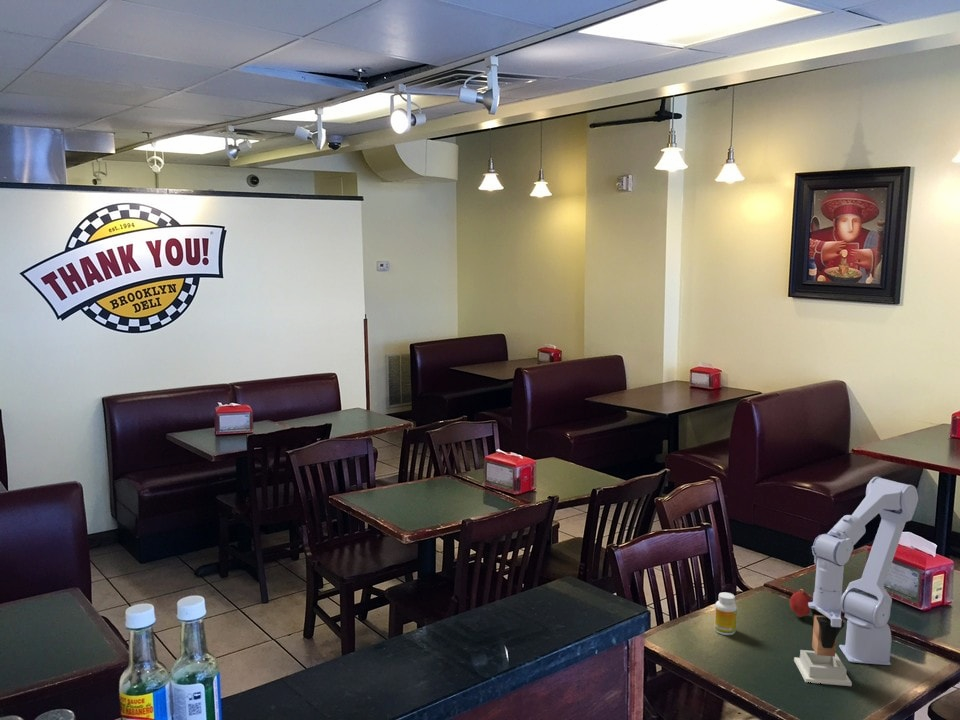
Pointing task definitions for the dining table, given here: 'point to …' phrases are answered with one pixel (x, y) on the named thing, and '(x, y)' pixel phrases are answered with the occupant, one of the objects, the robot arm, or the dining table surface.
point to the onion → (800, 603)
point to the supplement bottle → (725, 614)
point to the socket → (822, 669)
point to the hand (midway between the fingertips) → (824, 642)
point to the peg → (817, 640)
